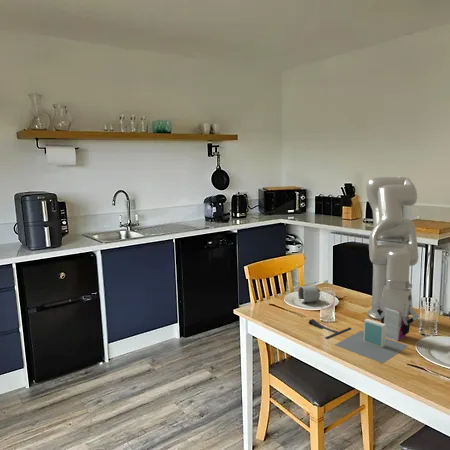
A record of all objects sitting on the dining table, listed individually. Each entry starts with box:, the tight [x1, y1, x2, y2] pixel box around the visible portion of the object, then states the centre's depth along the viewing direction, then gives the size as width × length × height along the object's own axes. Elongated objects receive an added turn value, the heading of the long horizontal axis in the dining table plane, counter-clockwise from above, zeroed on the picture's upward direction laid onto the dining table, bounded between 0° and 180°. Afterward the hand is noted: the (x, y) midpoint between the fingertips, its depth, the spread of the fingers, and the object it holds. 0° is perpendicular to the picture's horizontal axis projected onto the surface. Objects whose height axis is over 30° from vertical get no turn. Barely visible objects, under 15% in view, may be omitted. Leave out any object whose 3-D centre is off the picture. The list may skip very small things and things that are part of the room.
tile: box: [363, 318, 386, 348], centre depth 141 cm, size 2×7×8 cm, turn 41°
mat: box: [334, 329, 409, 364], centre depth 141 cm, size 18×18×1 cm
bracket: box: [308, 318, 352, 340], centre depth 156 cm, size 14×15×3 cm
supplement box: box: [384, 308, 406, 342], centre depth 147 cm, size 6×6×12 cm
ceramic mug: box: [297, 285, 321, 304], centre depth 188 cm, size 11×8×8 cm
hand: (394, 330), depth 147 cm, fingers open, 7 cm apart
